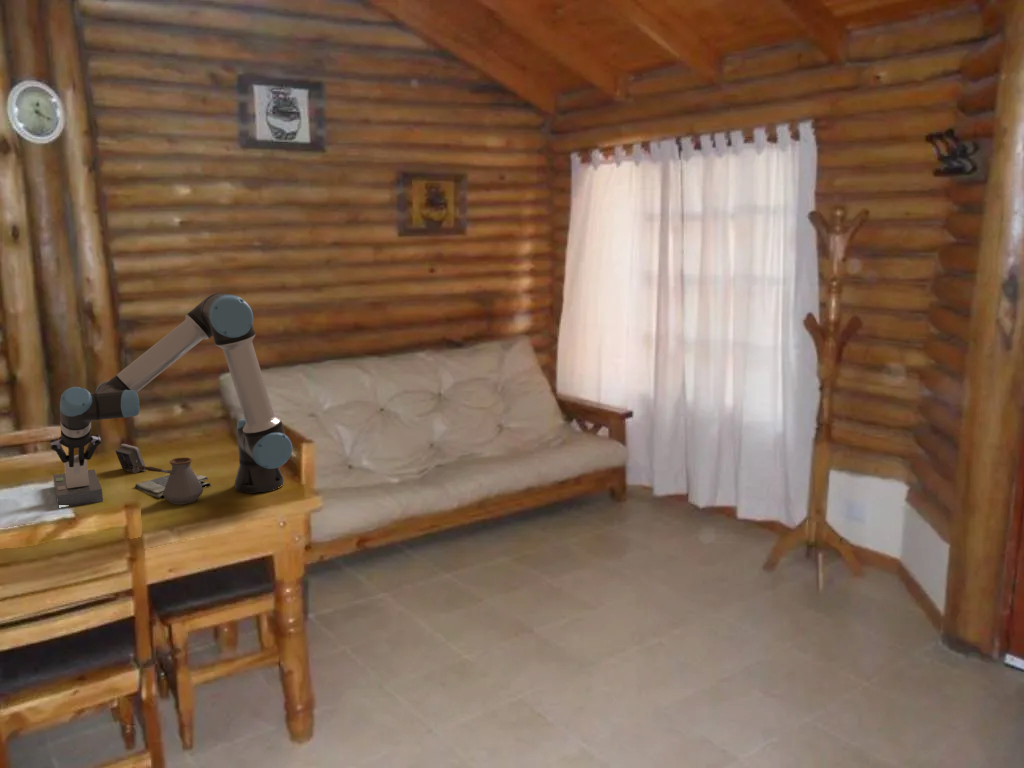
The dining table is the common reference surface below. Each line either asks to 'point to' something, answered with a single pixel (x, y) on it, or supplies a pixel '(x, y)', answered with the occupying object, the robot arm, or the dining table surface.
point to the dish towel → (162, 485)
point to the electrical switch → (130, 458)
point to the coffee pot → (179, 482)
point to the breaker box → (78, 491)
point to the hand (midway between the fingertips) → (76, 470)
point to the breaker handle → (76, 476)
